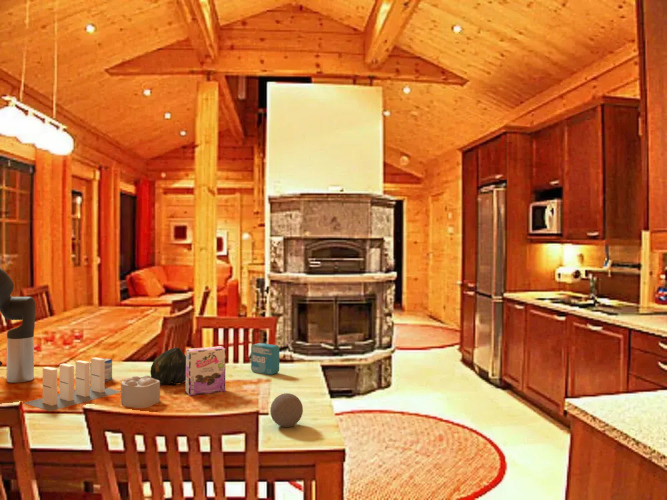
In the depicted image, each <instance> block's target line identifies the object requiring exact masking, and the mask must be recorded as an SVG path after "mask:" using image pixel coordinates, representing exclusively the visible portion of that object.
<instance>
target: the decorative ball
mask: <svg viewBox="0 0 667 500" xmlns="http://www.w3.org/2000/svg"><path fill="white" fill-rule="evenodd" d="M302 403H303V402H302V401H301V399H299V397H298V396H296V395H294V394H293V393H287V392H286V393H281V394H279V395H277V396H276V397H275V398H274V399H273V401H272V402H271V405H270V409H269V411H270V416H271V418H272V420H273V422H274V423H275V424H276V425H278V426H279V427H283V428H290V427H293V426H294V425H297V424H298V423H299V421H300V420H301V418H302V416H303V412H304V408H303V404H302Z"/></svg>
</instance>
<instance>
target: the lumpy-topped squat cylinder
mask: <svg viewBox="0 0 667 500" xmlns="http://www.w3.org/2000/svg"><path fill="white" fill-rule="evenodd" d="M120 391H121V392H120V403H121V405H122V406H124V407H128V408H135V409H136V408H137V409H143V408H150V407H151V406H153V405H156V404H159V403H160V402H161V399H160V398H161V384H160V381H159V380H156V379H154V378H151V375H148V374H147V375H146V374H145V375H143V376H142V377H140V376H138V375H134V376H132V377H128V378H126V379H124V380H122V381H121V383H120Z"/></svg>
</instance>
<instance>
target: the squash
mask: <svg viewBox="0 0 667 500" xmlns="http://www.w3.org/2000/svg"><path fill="white" fill-rule="evenodd" d="M149 372H150V377H151V378H154V379H156V380H159V381H160V386H163V385H166V384H167V385H171V384H175V385H176V384H177V385H180V384H181V385H182V384H183V383H184V382H186V353H184V352H183V351H182V349H181V348H179V347H173V348H170V349H168V350H166V351H164V352H162V353H161V354H159V355H158V356H157V357H156V358H155V359H154V360H153V362H152V364H151V365H150V371H149Z"/></svg>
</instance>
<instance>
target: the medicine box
mask: <svg viewBox="0 0 667 500" xmlns="http://www.w3.org/2000/svg"><path fill="white" fill-rule="evenodd" d="M104 359H105V383H106V382H108V381H110V380H113V359H111V358H104ZM90 384H91V362H90Z"/></svg>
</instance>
